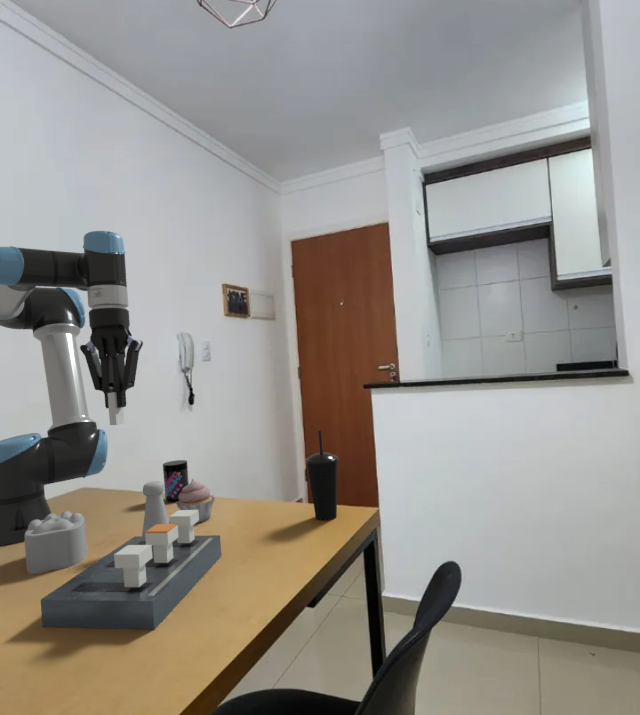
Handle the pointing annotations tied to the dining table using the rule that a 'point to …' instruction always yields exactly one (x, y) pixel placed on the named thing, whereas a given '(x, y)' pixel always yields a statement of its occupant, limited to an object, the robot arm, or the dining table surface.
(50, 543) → the lumpy-topped squat cylinder
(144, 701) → the dining table surface
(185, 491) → the cupcake
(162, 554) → the block
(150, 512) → the salt shaker
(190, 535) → the breaker
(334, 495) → the drinking cup
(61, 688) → the dining table surface
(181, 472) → the supplement container
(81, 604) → the panel
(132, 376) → the robot arm
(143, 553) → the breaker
